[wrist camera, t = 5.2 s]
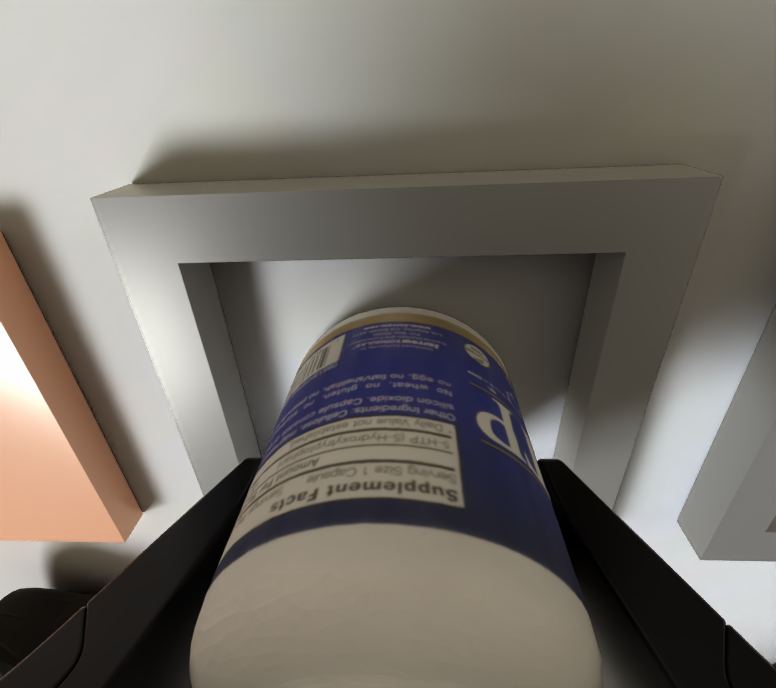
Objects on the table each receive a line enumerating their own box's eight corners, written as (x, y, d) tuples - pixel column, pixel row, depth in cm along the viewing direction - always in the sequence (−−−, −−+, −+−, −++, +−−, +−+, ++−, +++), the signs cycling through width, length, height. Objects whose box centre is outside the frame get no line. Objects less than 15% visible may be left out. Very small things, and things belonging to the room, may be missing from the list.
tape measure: (31, 548, 15) (-71, 671, 12) (220, 602, 17) (173, 727, 13) (27, 634, 19) (-53, 749, 15) (185, 675, 20) (141, 788, 17)
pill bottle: (524, 451, 12) (736, 1149, 4) (341, 484, 13) (231, 1092, 5) (486, 270, 9) (873, 1247, 1) (260, 330, 10) (-204, 1088, 2)
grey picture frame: (682, 164, 8) (723, 176, 7) (578, 531, 13) (592, 569, 12) (129, 184, 9) (90, 198, 7) (242, 526, 14) (228, 562, 13)
